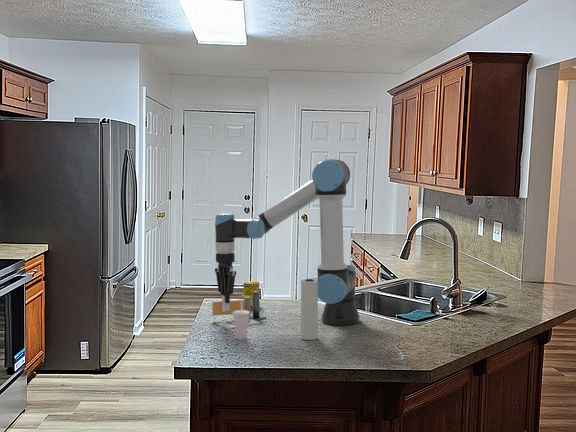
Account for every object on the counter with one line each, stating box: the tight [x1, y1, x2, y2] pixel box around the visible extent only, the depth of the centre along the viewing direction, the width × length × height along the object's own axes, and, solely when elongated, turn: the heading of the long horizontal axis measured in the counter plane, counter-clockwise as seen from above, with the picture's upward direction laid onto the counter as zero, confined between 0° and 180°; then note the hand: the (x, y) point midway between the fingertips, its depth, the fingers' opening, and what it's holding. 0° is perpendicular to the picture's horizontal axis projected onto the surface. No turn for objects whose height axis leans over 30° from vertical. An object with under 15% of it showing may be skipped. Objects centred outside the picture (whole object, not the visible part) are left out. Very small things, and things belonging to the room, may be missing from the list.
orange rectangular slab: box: [211, 296, 252, 317], centre depth 267 cm, size 16×2×8 cm, turn 106°
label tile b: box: [216, 320, 235, 330], centre depth 258 cm, size 9×6×1 cm, turn 37°
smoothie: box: [231, 299, 251, 340], centre depth 238 cm, size 6×6×14 cm
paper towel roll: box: [300, 278, 319, 341], centre depth 238 cm, size 7×6×21 cm
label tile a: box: [248, 319, 261, 327], centre depth 263 cm, size 9×6×1 cm, turn 37°
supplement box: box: [242, 280, 260, 309], centre depth 293 cm, size 6×6×11 cm
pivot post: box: [249, 290, 267, 321], centre depth 270 cm, size 6×6×11 cm
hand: (225, 310), depth 264 cm, fingers closed
